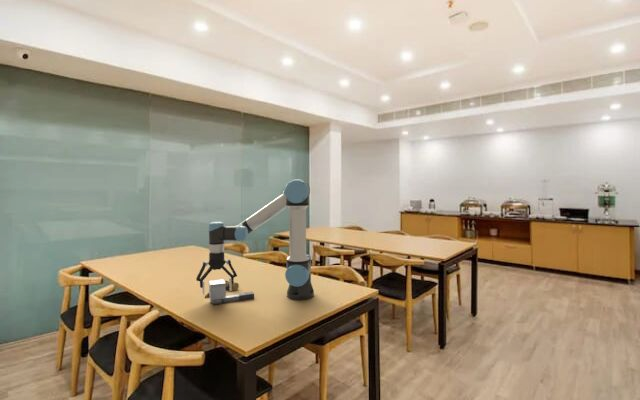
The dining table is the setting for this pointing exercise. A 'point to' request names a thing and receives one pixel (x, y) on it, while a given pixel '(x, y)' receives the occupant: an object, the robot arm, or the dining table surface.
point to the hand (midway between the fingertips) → (217, 291)
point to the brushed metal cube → (217, 289)
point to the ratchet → (233, 298)
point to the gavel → (234, 287)
